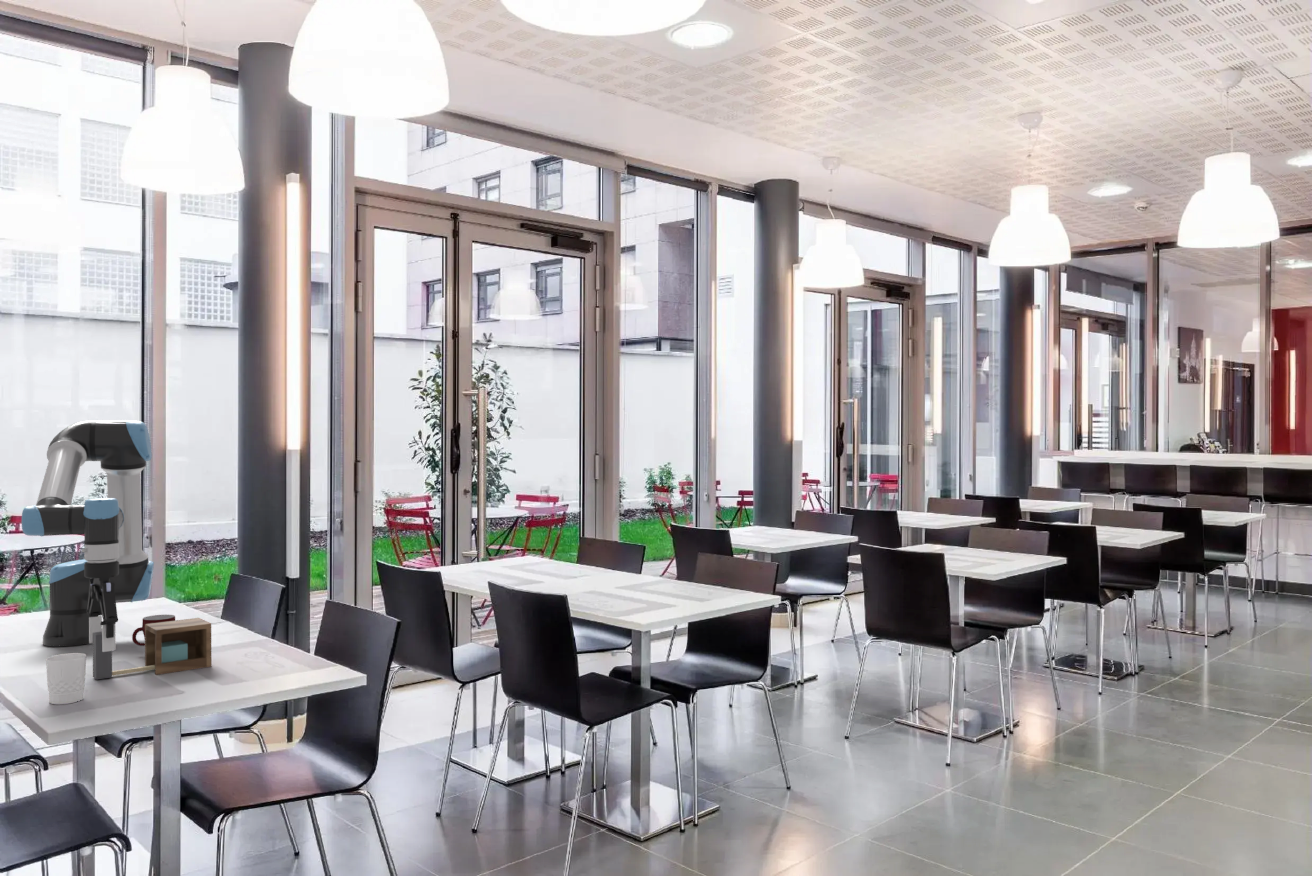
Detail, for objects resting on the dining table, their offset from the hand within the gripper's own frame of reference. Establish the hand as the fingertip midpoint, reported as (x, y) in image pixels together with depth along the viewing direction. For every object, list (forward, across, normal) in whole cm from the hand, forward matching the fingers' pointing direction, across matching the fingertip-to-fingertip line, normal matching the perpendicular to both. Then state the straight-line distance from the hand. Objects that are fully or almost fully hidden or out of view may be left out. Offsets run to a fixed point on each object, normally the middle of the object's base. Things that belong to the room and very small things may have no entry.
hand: (102, 646), depth 246 cm
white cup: (+8, +17, -11) cm, 22 cm away
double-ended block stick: (+8, 0, +9) cm, 12 cm away
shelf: (+8, 0, +17) cm, 19 cm away
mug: (+8, -20, +17) cm, 28 cm away
